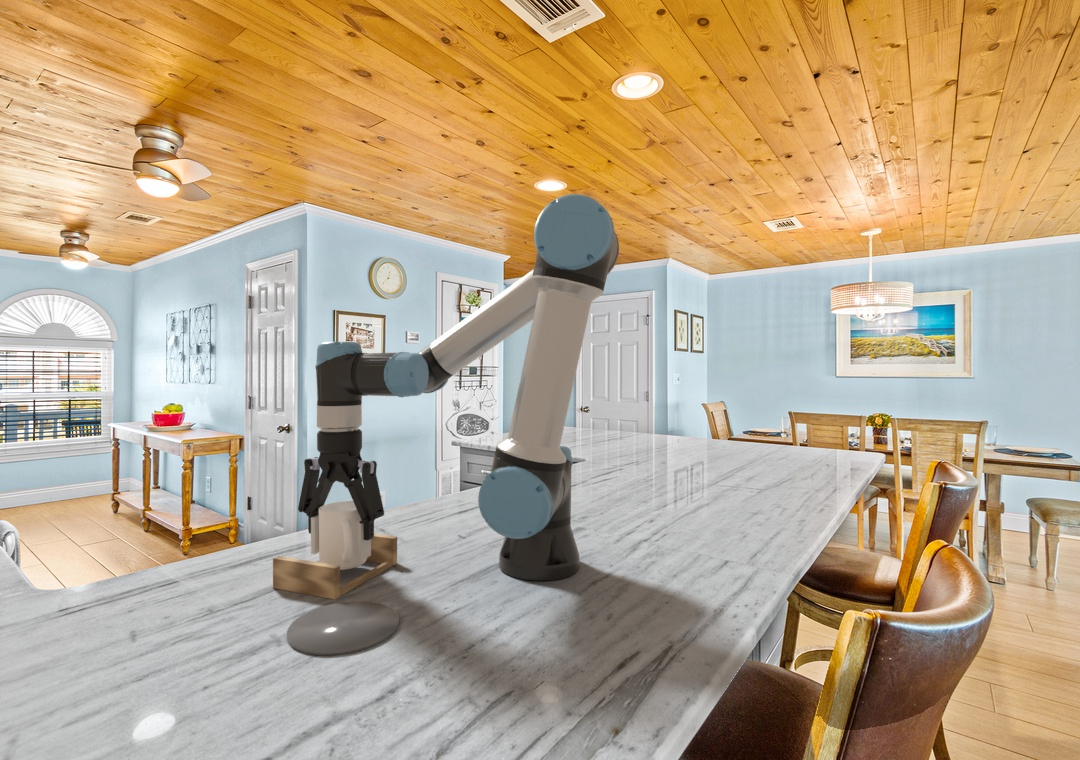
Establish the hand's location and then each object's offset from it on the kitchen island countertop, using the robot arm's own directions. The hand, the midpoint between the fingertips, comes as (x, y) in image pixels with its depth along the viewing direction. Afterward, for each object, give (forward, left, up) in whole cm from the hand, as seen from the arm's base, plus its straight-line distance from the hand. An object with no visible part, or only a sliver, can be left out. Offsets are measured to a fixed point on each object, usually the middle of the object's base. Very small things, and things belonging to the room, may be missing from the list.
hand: (340, 554), depth 98 cm
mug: (-1, 0, -2) cm, 2 cm away
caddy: (0, 0, -4) cm, 4 cm away
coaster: (-14, +16, -4) cm, 21 cm away
